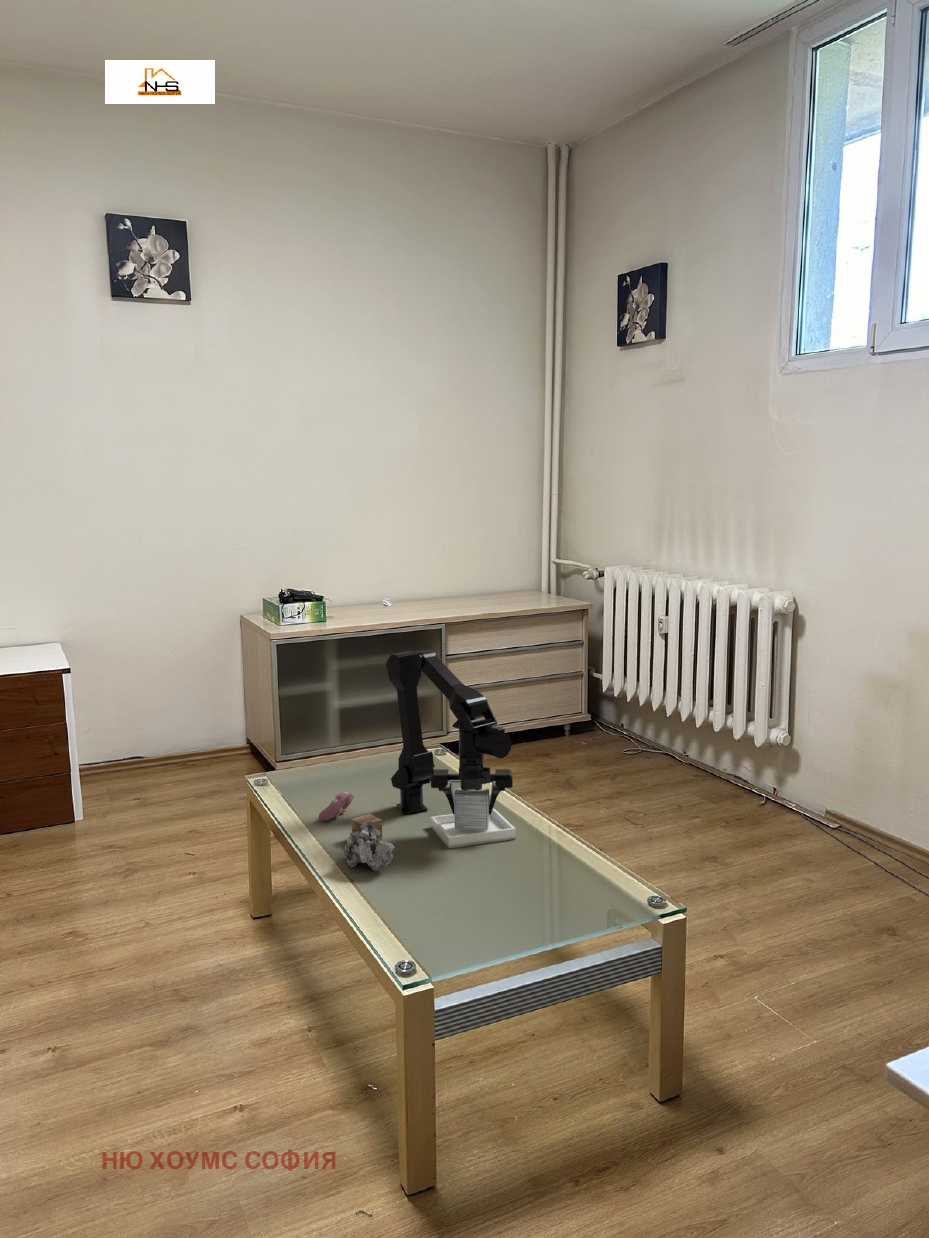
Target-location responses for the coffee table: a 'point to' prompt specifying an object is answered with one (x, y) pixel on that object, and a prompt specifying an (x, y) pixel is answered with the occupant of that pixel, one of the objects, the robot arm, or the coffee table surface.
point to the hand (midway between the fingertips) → (472, 814)
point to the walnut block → (363, 820)
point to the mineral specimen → (368, 848)
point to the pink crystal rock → (336, 806)
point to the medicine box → (471, 809)
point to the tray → (472, 831)
